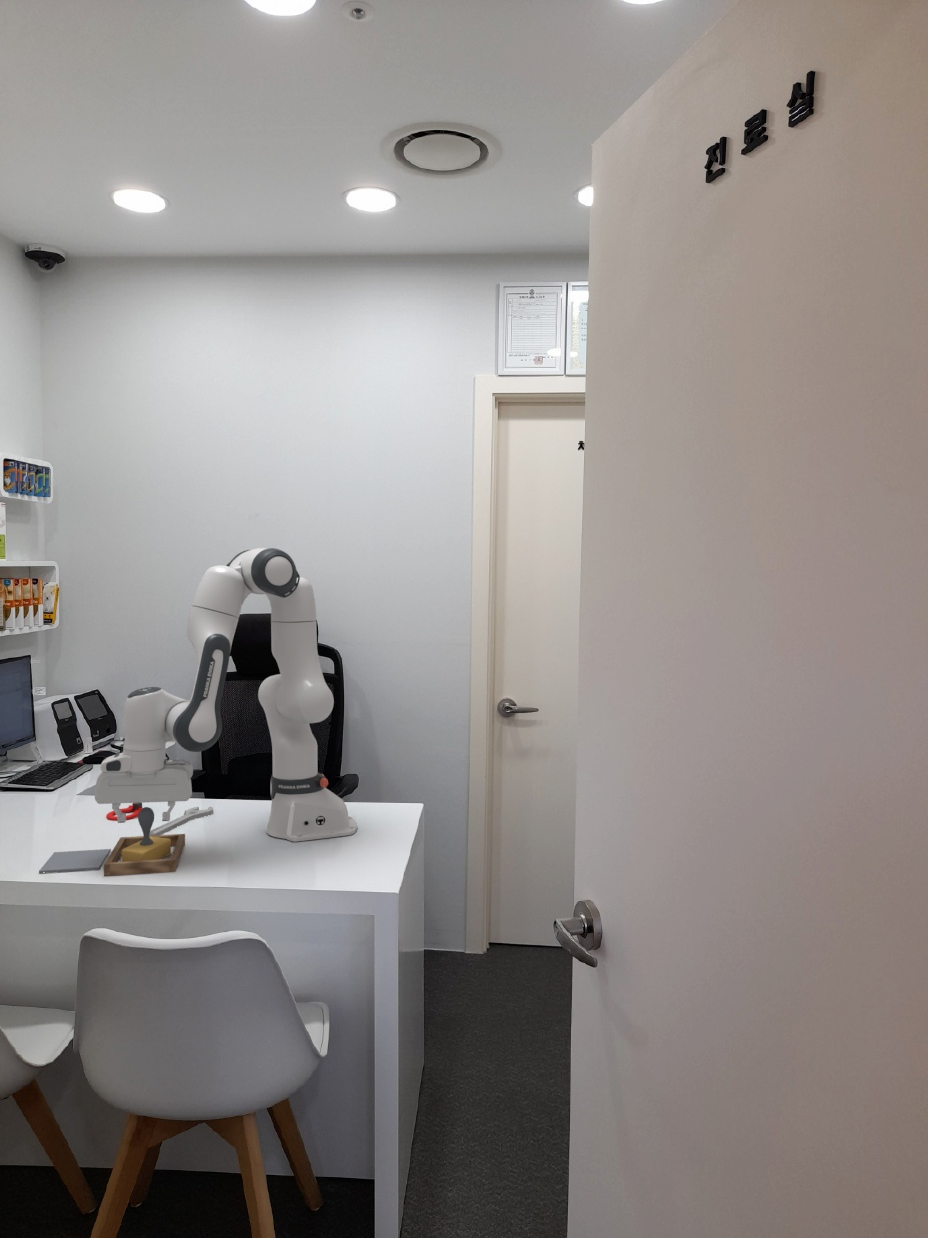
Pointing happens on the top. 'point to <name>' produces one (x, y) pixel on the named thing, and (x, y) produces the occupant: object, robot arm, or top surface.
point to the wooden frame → (143, 866)
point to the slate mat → (75, 861)
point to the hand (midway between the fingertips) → (144, 821)
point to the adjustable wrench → (182, 820)
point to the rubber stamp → (147, 841)
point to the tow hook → (134, 808)
